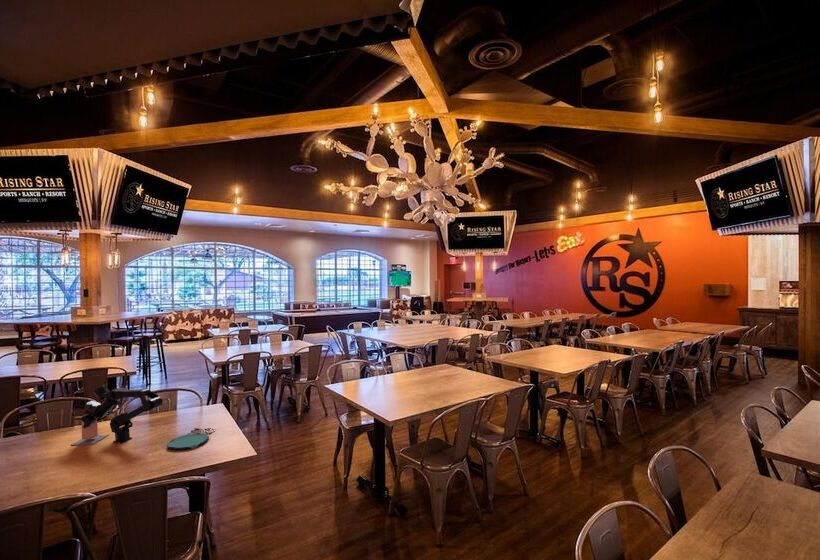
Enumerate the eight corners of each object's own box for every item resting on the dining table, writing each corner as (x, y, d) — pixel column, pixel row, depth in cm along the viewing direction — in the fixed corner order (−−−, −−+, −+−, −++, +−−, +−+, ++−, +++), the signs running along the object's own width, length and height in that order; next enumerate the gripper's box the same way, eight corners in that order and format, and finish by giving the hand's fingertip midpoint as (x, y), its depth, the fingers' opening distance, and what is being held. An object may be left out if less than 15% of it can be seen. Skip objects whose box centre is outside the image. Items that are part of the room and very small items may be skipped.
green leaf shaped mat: (159, 451, 208) (158, 447, 208) (192, 430, 238) (192, 426, 238) (195, 451, 207) (195, 447, 207) (224, 430, 237) (224, 426, 237)
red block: (97, 435, 227) (97, 418, 227) (91, 439, 222) (90, 421, 222) (88, 435, 227) (88, 418, 227) (82, 439, 222) (81, 421, 222)
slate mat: (108, 435, 231) (108, 435, 231) (93, 444, 219) (93, 443, 219) (86, 436, 230) (86, 436, 230) (70, 445, 218) (70, 444, 218)
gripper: (107, 391, 234) (88, 411, 233) (83, 401, 215) (62, 422, 214) (121, 404, 234) (102, 423, 234) (98, 415, 216) (78, 436, 215)
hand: (87, 426), depth 224 cm, fingers closed on red block, 5 cm apart
